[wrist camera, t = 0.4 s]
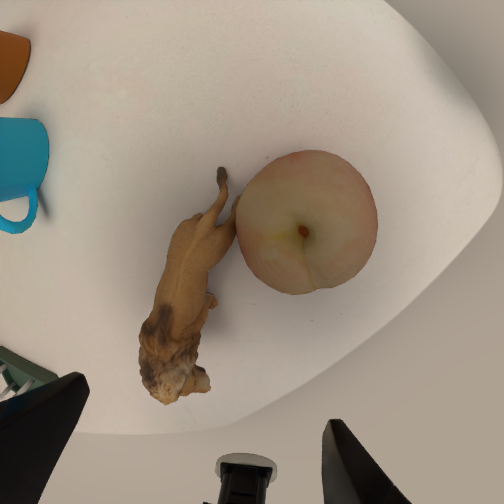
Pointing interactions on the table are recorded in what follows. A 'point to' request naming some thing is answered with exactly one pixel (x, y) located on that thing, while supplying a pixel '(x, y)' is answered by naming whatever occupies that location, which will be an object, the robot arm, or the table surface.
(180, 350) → the lion figurine
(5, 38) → the mug
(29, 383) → the drying rack
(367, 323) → the table surface
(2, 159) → the mug
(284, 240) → the fruit
